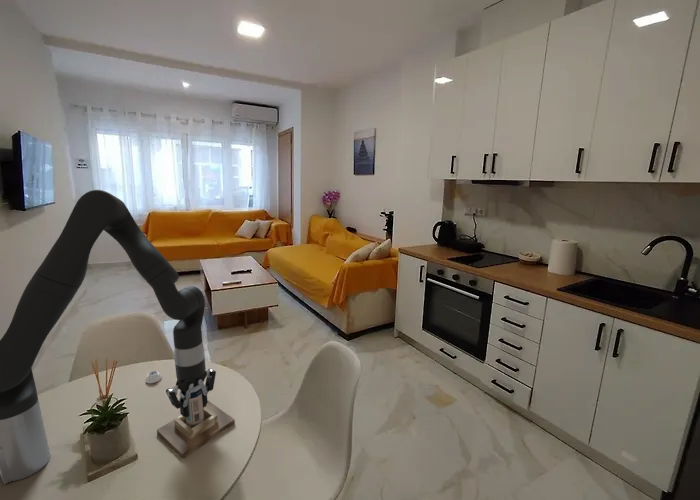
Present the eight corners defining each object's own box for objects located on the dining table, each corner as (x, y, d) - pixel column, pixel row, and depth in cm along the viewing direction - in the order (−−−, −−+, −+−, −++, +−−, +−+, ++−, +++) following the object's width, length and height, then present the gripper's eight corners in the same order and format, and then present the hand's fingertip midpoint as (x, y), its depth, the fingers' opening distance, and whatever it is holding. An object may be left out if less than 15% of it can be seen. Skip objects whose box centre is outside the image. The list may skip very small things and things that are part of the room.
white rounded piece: (156, 374, 125) (142, 381, 121) (155, 367, 124) (141, 374, 120) (164, 378, 123) (150, 386, 118) (163, 371, 122) (149, 378, 118)
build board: (182, 458, 89) (181, 446, 88) (157, 434, 97) (155, 422, 96) (234, 423, 102) (234, 412, 101) (208, 404, 110) (207, 393, 109)
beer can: (207, 415, 101) (204, 379, 98) (199, 427, 96) (195, 390, 93) (192, 413, 101) (188, 378, 99) (183, 425, 97) (179, 388, 94)
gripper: (170, 374, 86) (176, 431, 90) (220, 351, 98) (224, 403, 102) (156, 364, 91) (163, 419, 95) (206, 343, 102) (210, 393, 106)
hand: (194, 410), depth 98 cm, fingers closed on beer can, 4 cm apart
